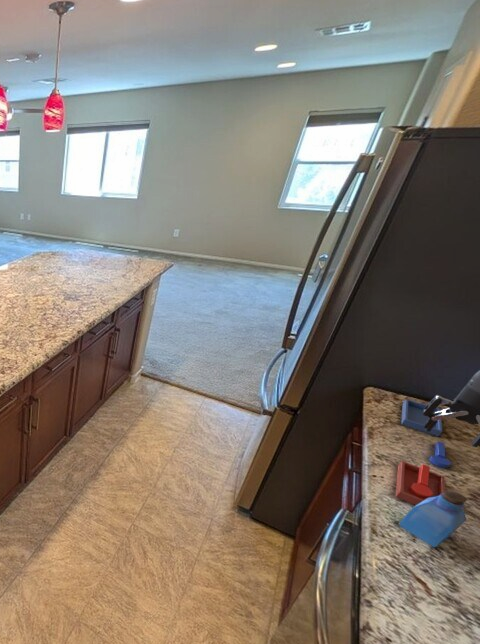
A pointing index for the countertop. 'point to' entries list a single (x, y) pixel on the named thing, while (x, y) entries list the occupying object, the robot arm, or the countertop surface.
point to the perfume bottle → (436, 517)
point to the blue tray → (418, 417)
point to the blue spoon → (440, 456)
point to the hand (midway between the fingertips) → (449, 437)
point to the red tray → (409, 476)
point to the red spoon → (422, 483)
